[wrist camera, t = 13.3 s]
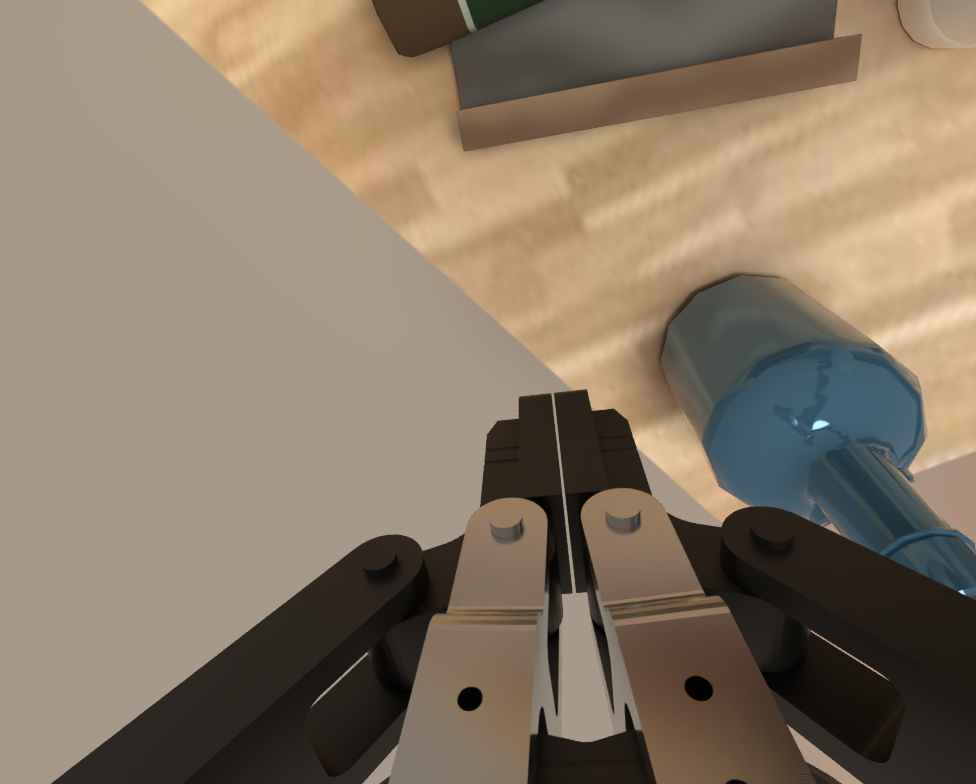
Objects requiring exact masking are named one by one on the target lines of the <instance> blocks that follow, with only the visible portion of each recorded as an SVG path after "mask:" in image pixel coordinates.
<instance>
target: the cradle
mask: <svg viewBox="0 0 976 784" xmlns="http://www.w3.org/2000/svg"><path fill="white" fill-rule="evenodd" d="M836 8H837V0H544V1H542V2H540V3H538V4H535V5H533V6H531V7H529V8H526V9H524V10H522V11H520V12H517V13H515V14H513V15H511V16H509V17H506V18H504V19H502V20H500V21H497V22H495V23H493V24H491V25H488V26H486V27H484V28H482V29H479V30H477V31H475V32H473V33H471V34H468V35H466V36H464V37H462V38H459V39H457V40H455V41H453V42H450V45H451V50H452V56H453V62H454V68H455V74H456V80H457V86H458V91H459V97H460V103H461V110H458V111H457V115H458V121H459V127H460V132H461V138H462V144H463V150H464V151H469V150H475V149H480V148H486V147H491V146H497V145H502V144H508V143H513V142H519V141H525V140H530V139H536V138H541V137H547V136H552V135H558V134H563V133H569V132H574V131H580V130H585V129H591V128H597V127H602V126H608V125H613V124H619V123H624V122H630V121H635V120H641V119H646V118H652V117H657V116H663V115H669V114H674V113H680V112H685V111H691V110H696V109H702V108H707V107H713V106H718V105H724V104H729V103H735V102H741V101H746V100H752V99H757V98H763V97H768V96H774V95H779V94H785V93H790V92H796V91H801V90H807V89H813V88H818V87H824V86H829V85H835V84H840V83H846V82H851V81H856V80H857V71H858V63H859V55H860V47H861V38H862V34H858V35H852V36H846V37H840V38H834V39H833V37H834V27H835V17H836Z"/></svg>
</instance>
